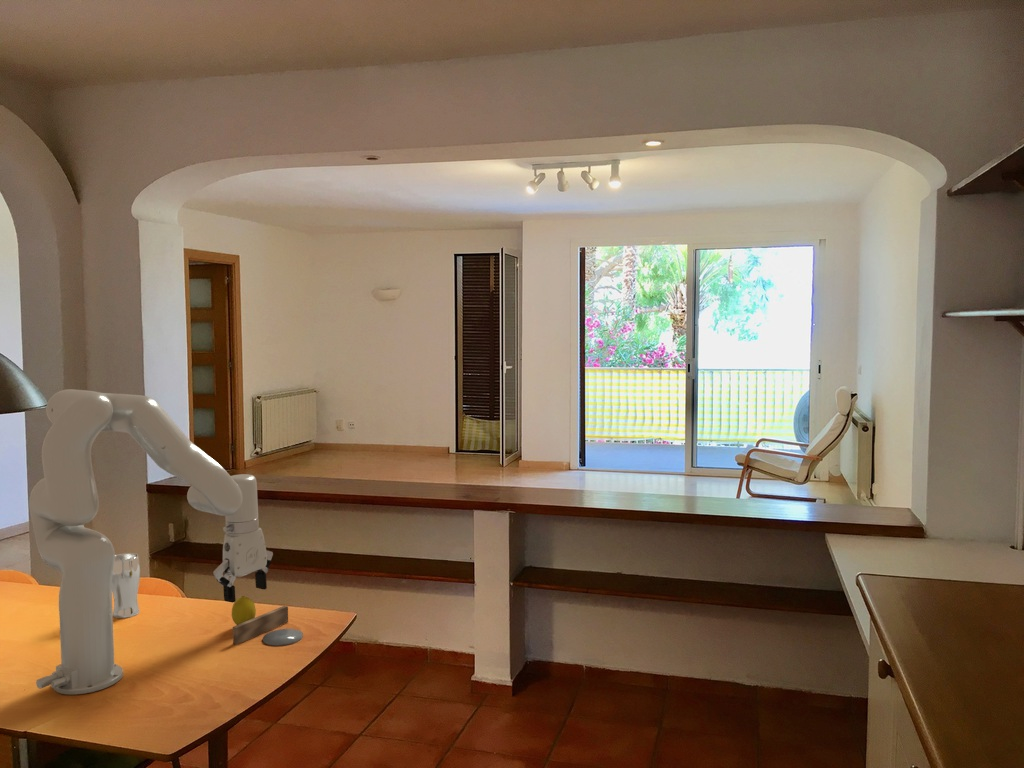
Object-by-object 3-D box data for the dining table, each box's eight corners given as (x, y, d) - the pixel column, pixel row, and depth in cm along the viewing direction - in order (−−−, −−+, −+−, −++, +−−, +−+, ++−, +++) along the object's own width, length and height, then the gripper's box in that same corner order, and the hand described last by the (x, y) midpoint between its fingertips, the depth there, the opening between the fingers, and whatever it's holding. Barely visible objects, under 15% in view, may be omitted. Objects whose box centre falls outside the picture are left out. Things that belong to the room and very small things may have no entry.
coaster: (282, 648, 175) (282, 646, 175) (254, 641, 179) (254, 638, 179) (310, 635, 183) (310, 633, 183) (283, 628, 187) (283, 626, 187)
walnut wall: (236, 644, 177) (236, 627, 177) (233, 643, 178) (232, 626, 177) (288, 622, 191) (287, 606, 191) (284, 621, 192) (284, 605, 191)
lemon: (251, 632, 184) (250, 599, 184) (228, 632, 185) (227, 599, 184) (259, 623, 190) (258, 592, 189) (237, 623, 190) (236, 592, 190)
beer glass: (113, 611, 199) (111, 554, 198) (143, 608, 201) (141, 551, 200) (108, 620, 192) (106, 561, 192) (138, 617, 195) (136, 559, 194)
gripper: (224, 537, 176) (227, 609, 178) (280, 519, 192) (283, 586, 193) (202, 533, 180) (205, 604, 182) (259, 516, 195) (262, 581, 197)
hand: (245, 594), depth 187 cm, fingers open, 9 cm apart
